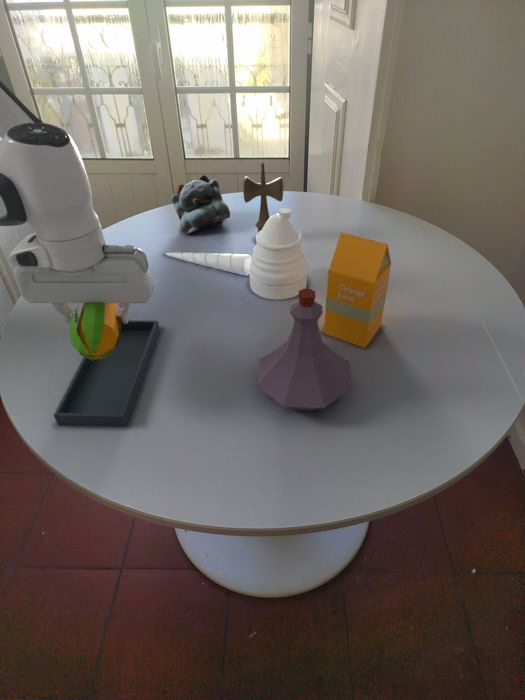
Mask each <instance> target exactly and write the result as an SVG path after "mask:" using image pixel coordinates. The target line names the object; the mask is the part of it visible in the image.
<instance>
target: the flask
mask: <svg viewBox="0 0 525 700" xmlns="http://www.w3.org/2000/svg"><path fill="white" fill-rule="evenodd" d="M315 299H316V291H315V290H313V289H311V288H305V289H302V290H300V291H299V295H298V300H297V301H295V302H293V303H292V304H290V305H289V306H290V307H289V313H290V315H291V317H292V318H293V324H292V327H291V330H290V332H289V335H288V338H287V341H285V342H284V343H282V344H281V345H280V346H279V347H277V348H276V349H275V350H273V351H271V352H269V353H268V354H266V355H265V356H263V357H261V358H259V360H258V368H257V377H256V386H257V388H259V389H260V390H262V391H263V392H264V393H265V394H267V395H268V396H269V397H270V398H271V399H273V400H274V401H275V402H277V403H278V404H279V405H280V406H282V407H283V408H286V409H288V410H290V411H318V410H321V409H322V410H323V409H325V408H327V407H328V406H329V405H332V403H333V402H335V401H336V400H337V399H339V398H340V397H342V396H343V395H344V394H346V393H348V391H350V390H351V389H352V387H353V386H352V378H351V370H350V361H349V360H347V359H346V358H345V357H343V356H341V355H340V354H338V353H337V352H335V351H334V350H333V349H332V348H331V347H330V346H328V345H327V344H326V343H325V342H323V339H322V335H321V332H320V328H319V324H318V323H319V322H318V321H319V319H320V318H321V316H322V315H323V313H324V312H323V311H324V309H323V305H322V304H320V303H318V302H317V301H315Z"/></svg>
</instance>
